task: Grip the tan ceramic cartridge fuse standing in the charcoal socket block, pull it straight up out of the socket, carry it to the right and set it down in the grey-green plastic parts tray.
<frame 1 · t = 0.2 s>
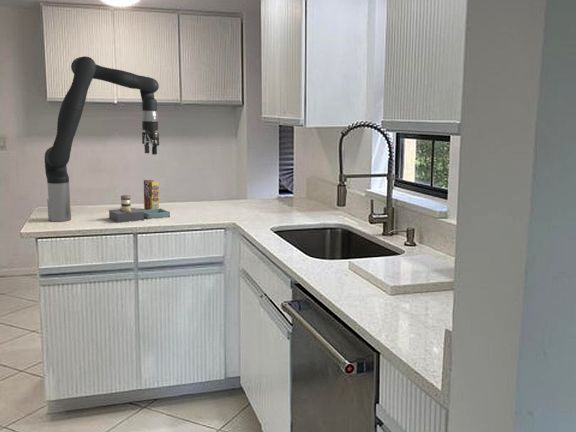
hand: (150, 153, 289), 29 cm above the worktop, fingers open, 8 cm apart
fuse: (126, 219, 273), resting in fuse block
tray: (154, 216, 282), on the worktop
candy box: (151, 210, 298), on the worktop
fuse block: (126, 219, 273), on the worktop
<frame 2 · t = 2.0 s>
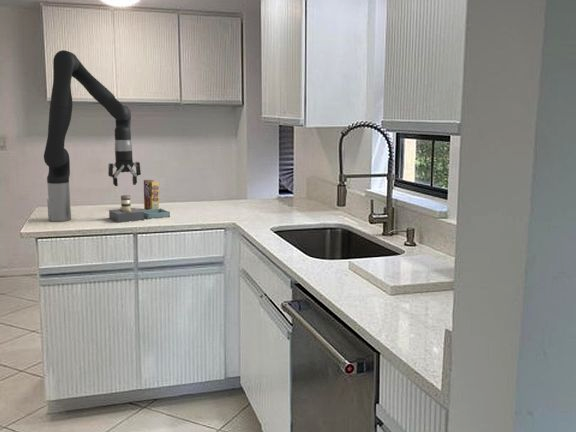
hand: (125, 185, 271), 16 cm above the worktop, fingers open, 8 cm apart
nothing on the worktop moved.
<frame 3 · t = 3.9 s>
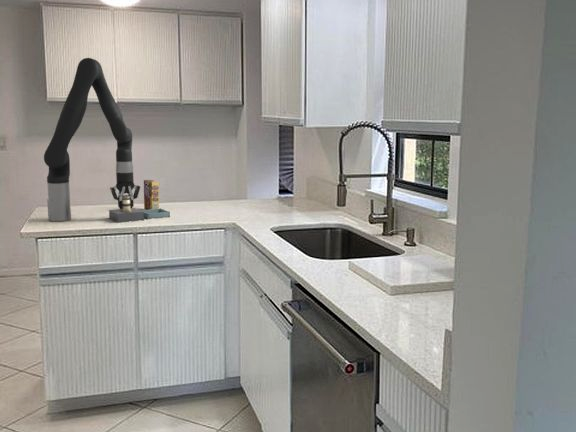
hand: (126, 208, 272), 5 cm above the worktop, fingers closed on fuse, 4 cm apart
fuse: (126, 219, 273), resting in fuse block, touching gripper
everything else where it was.
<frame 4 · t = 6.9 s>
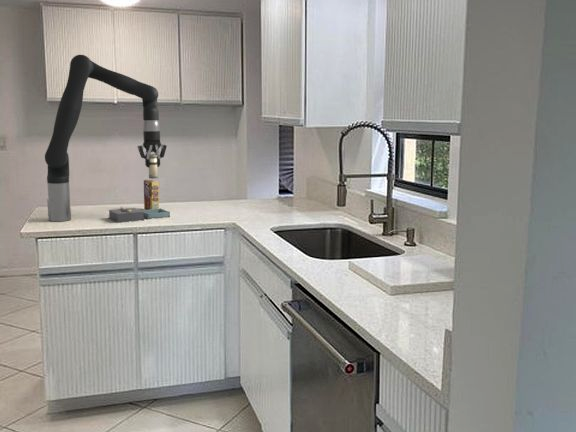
hand: (153, 166, 278), 24 cm above the worktop, fingers closed on fuse, 4 cm apart
fuse: (153, 178, 278), point 18 cm above the worktop, touching gripper
everything else where it was.
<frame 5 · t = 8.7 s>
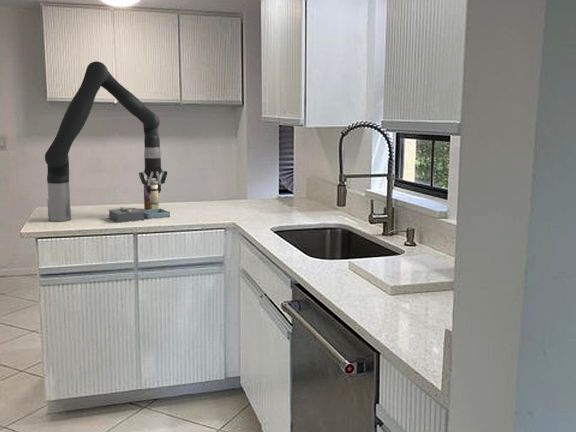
hand: (153, 192, 280), 11 cm above the worktop, fingers closed on fuse, 4 cm apart
fuse: (154, 203, 281), point 6 cm above the worktop, touching gripper
everything else where it was.
when the fingers open (7 cm above the worktop, at t = 10.2 s): fuse drops 1 cm, resting on tray.
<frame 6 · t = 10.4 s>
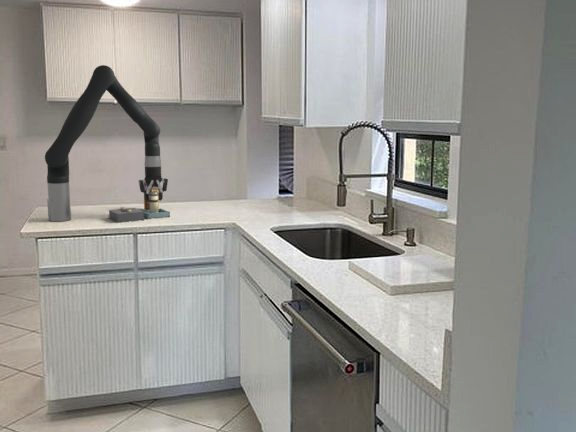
hand: (153, 200, 281), 7 cm above the worktop, fingers open, 5 cm apart
fuse: (154, 215, 282), point 1 cm above the worktop, touching tray
everything else where it was.
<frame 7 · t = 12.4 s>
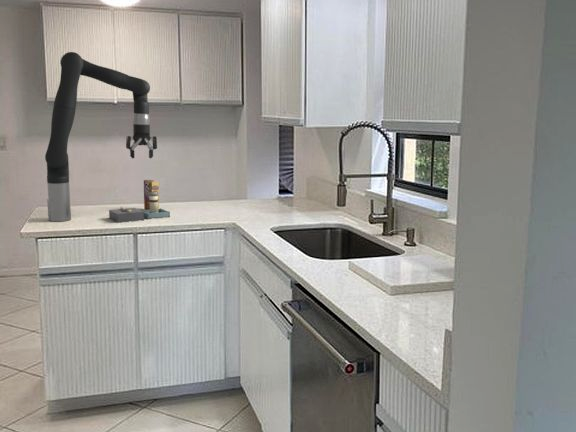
hand: (141, 158, 279), 27 cm above the worktop, fingers open, 8 cm apart
nothing on the worktop moved.
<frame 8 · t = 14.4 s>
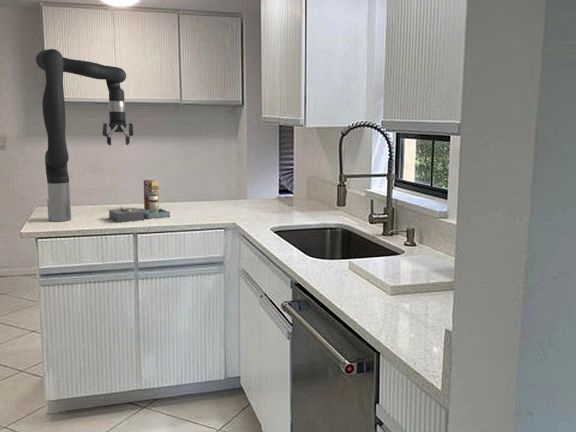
hand: (118, 144, 285), 33 cm above the worktop, fingers open, 8 cm apart
nothing on the worktop moved.
at the end: fuse inside the target area on the tray (0.1 cm from its centre), point 0.6 cm above the tray's base; the gripper is holding nothing; fuse touching tray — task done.
